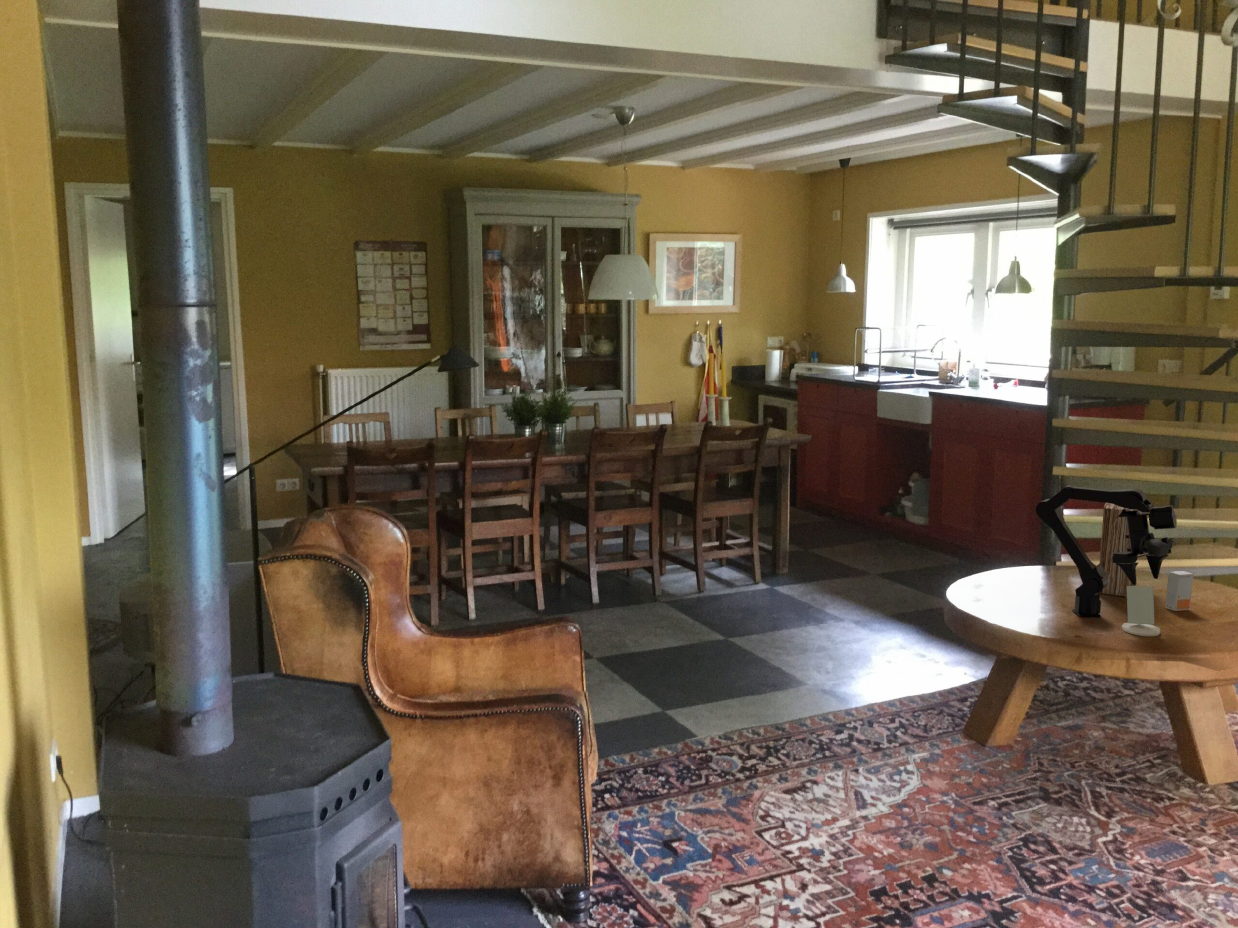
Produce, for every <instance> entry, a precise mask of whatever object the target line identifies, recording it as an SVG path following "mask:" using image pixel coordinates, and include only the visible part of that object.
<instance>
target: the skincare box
mask: <svg viewBox="0 0 1238 928" xmlns="http://www.w3.org/2000/svg"><path fill="white" fill-rule="evenodd" d="M1193 580H1194V573H1191V572H1189V571H1186V570H1175V571H1169V572H1168V576H1167V586H1166V595H1165V604H1164V608H1165V609H1168V610H1170V611H1173V612H1178V611H1181V612H1182V611H1190V609H1191V601H1192V593H1193V592H1192V591H1193V582H1194V581H1193Z"/></svg>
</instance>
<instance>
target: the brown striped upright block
mask: <svg viewBox="0 0 1238 928" xmlns="http://www.w3.org/2000/svg"><path fill="white" fill-rule="evenodd" d="M1123 509H1124V508H1123V507H1120V506H1117V505H1114V504H1111V503H1104V506H1103V515H1102V527H1101V539H1100V552H1099V563H1098V564H1101V566H1102V568H1103V570H1104V571H1105V572H1106V573H1107V574H1108V575H1107V578H1108V583H1107V585H1106V587H1105V588H1104V589H1103V590H1102V591H1100V592H1099V593H1098V594H1097V595H1099V594H1102V595H1103V594H1105V595H1112V596H1119V597H1125V599H1127V586H1132V583H1131V581H1130V580H1129V578H1128V577H1127V576H1126V574H1125V573H1124V571H1123V570H1122V569H1121V568H1120V566H1119V565H1116V563H1113V562H1112V555H1113V554H1114V553H1118V552H1127V548H1130V543H1129V538H1126V537H1125V535H1127V534H1128V528H1127V521H1126V517H1119V516H1118V515H1119V514H1121V512H1122V511H1123ZM1126 509H1127V508H1126ZM1127 510H1128V511H1131V509H1127ZM1135 510H1137V509H1135Z"/></svg>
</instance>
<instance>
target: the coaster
mask: <svg viewBox="0 0 1238 928" xmlns="http://www.w3.org/2000/svg"><path fill="white" fill-rule="evenodd" d="M1121 630H1122V632H1124V633H1128V634H1130V635H1135V636H1139V637H1140V636H1141V637H1157V636H1159V635H1160V634H1161V629H1160V627H1158V626H1156V625H1154V624H1132V623H1128V622H1124V623H1123V624H1122V626H1121Z"/></svg>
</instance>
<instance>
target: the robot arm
mask: <svg viewBox="0 0 1238 928" xmlns="http://www.w3.org/2000/svg"><path fill="white" fill-rule="evenodd" d="M1070 500H1077V501H1078V500H1079V501H1088V502H1096V503H1097V502H1098V503H1104V504H1106V503H1111V504H1114V505H1117V506H1120V507H1123V508H1124V509H1123V511H1122V512H1121V514H1119V515H1118V516H1119V517H1126V521H1127V528H1128V534H1127V535H1125V537H1126V538H1129V543H1130V548H1127V552H1118V553H1114V554H1113V555H1112V562H1113V563H1116V565H1119V566H1120V568H1121V569H1122V570H1123V571H1124V573H1125V574H1126V576H1127V577H1128V578H1129V580H1130V581H1131V585H1132V586H1137V569H1136V568H1137V567H1138V564H1139V562H1138V558H1142V557H1146V560H1147V564H1148V566H1149V568H1150V571H1151V575H1152V577H1153V579H1155V580H1157V579H1159V575H1160V571H1161V567H1162V563H1163V562H1164V560H1165V559H1166V558H1167V557H1169V555H1170V554H1172V549H1173V546H1172V544H1173V543H1172V539H1171V538H1170V537H1167V536H1165V537H1162V538H1157V539H1156V538H1155V535H1154V533H1153V532H1150V527H1151V528H1153V529H1154V530H1168V529H1177V515H1176V513H1175V510H1174V506H1173V504H1172V505H1164V506H1155V505H1154V504H1153V503H1152V502H1151V501H1149V499H1148V498H1147V495H1146V494H1145V492H1144V491H1143V490H1142V489H1141V488H1137V487H1135V488H1134V487H1133V488H1122V489H1105V488H1095V487H1094V488H1093V487H1084V486H1083V487H1082V486H1074V485H1071V484H1070V485H1069V484H1068V485H1066V486H1064V487H1063V488H1061V490H1060V491H1058V492H1057V493H1056V494H1054V496H1052V497H1050V498H1046V499H1044V500H1042V501H1040V502H1039V503H1037V505H1036V506H1035V514H1036V516H1037V517H1038V519H1040V520H1041V521H1042V522H1043V523H1044V524H1045V525H1046V526H1047V527H1048V528H1050V529H1051V530H1052V531H1053V532H1054V534H1055V536H1056V538H1057V539H1058V541H1059V542H1060V544H1061V545H1062V547H1063V548H1064V549H1065V551H1066V552H1067V553H1066V554H1068V555H1069V557H1070V559H1071V560H1072V562H1073V564H1074V565H1075V566H1076V568H1077V570H1078V574H1079V578H1080V580H1081V583H1082V584H1081V585H1079V586H1078V587H1077V588H1076V589H1075V599H1074V601H1075V602H1074V608H1072V609H1071V611H1072V612H1073V613H1075V614H1076V615H1078V616H1079V617H1091V618H1092V617H1095V618H1096V617H1097V618H1100V617H1102V615H1101V610H1102V607H1101V606H1102V600H1101V596H1100V595H1099V594H1100V593H1099V592H1100V591H1102V590H1103V589H1104V588H1105V587H1106V585H1107V583H1108V578H1107V575H1108V574H1107V573H1106V572H1105V571H1104V570H1103V568H1102V566H1101V564H1099V563H1098V564H1095V563H1094V562H1092V561H1091V559H1090V558H1089V557H1088V555H1087V553H1086V552H1085V551H1084V549H1083V547H1082V546H1081V544H1080V543H1079V541H1078V540H1077V538H1076V536H1075V535H1074V534H1073V533H1072V531H1071V528H1069V526H1068V524H1067V523H1066V521H1065V516H1064V513H1063V510H1062V508H1061V507H1062V506H1064V505H1065V504H1067V503H1068V502H1069V501H1070ZM1126 508H1127V509H1131V511H1128V510H1127V509H1126ZM1135 509H1137V510H1135ZM1098 593H1099V594H1098ZM1097 594H1098V595H1097Z"/></svg>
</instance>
